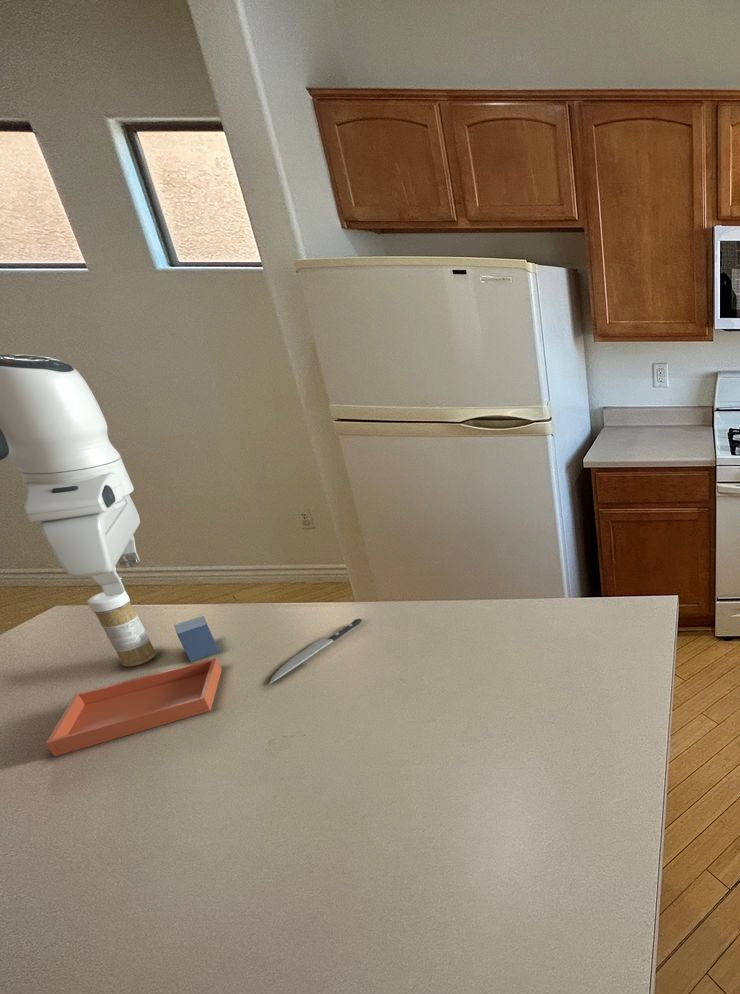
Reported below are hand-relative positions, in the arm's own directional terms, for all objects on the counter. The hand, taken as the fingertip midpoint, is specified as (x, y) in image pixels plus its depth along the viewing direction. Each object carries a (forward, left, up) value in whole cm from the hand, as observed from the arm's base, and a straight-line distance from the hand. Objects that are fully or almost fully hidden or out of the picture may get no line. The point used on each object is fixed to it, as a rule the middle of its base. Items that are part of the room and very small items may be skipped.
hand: (124, 578), depth 77 cm
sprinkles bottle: (-10, +21, -24) cm, 34 cm away
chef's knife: (+16, +8, -24) cm, 30 cm away
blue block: (-1, +18, -24) cm, 30 cm away
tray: (-6, +4, -24) cm, 25 cm away
